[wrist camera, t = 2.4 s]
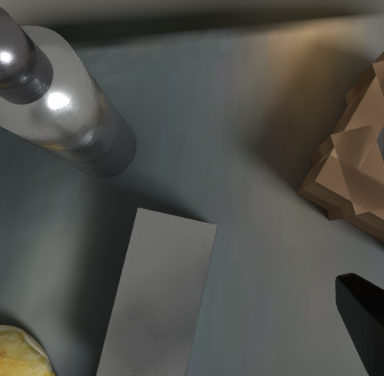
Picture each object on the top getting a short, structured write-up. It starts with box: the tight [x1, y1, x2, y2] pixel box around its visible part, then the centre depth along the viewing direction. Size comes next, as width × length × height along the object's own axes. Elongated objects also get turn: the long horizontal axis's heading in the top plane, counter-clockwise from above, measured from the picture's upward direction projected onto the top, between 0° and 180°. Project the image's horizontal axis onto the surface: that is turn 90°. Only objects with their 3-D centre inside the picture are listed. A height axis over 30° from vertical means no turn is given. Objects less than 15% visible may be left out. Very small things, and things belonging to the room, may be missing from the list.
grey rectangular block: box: [96, 208, 217, 376], centre depth 19 cm, size 12×4×4 cm, turn 167°
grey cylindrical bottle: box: [0, 7, 136, 178], centre depth 17 cm, size 4×4×12 cm
